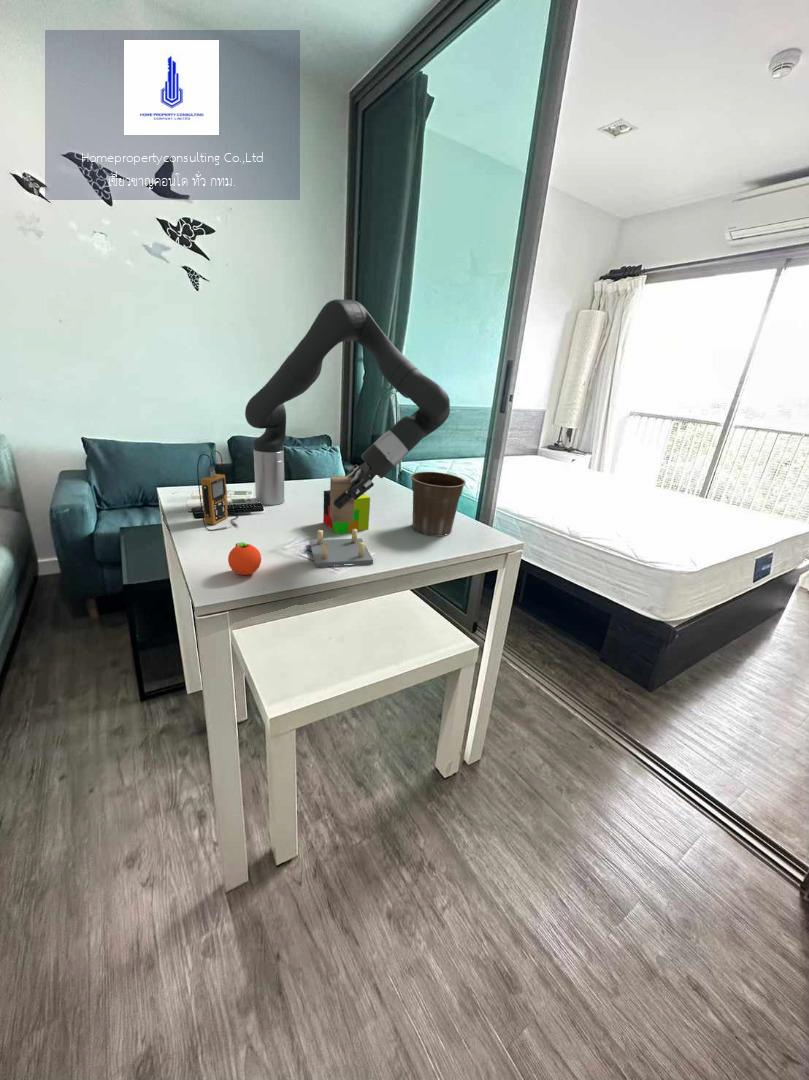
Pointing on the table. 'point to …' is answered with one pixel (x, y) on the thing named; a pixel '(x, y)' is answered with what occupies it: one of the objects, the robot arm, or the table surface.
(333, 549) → the pin plate
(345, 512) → the walnut block
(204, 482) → the multimeter
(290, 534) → the table surface
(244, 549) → the clementine
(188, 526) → the table surface
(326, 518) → the puzzle toy
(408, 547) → the table surface
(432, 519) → the plant pot
